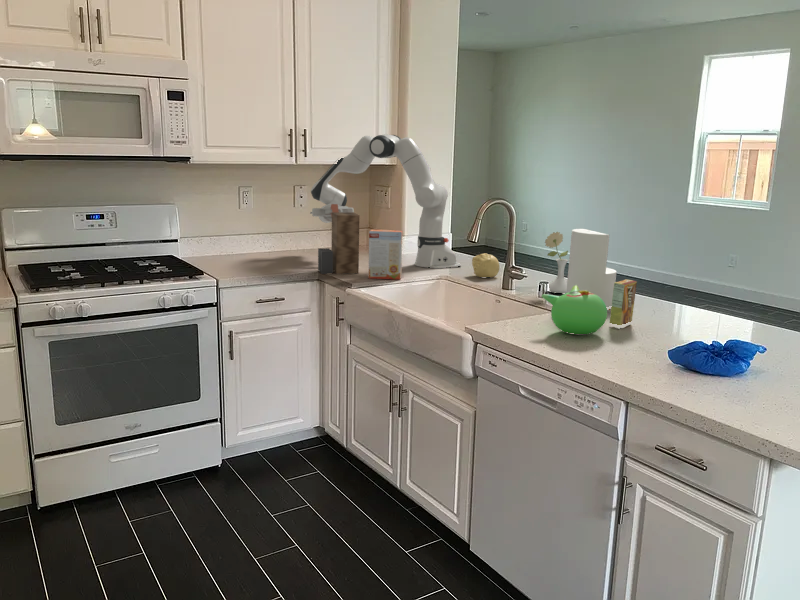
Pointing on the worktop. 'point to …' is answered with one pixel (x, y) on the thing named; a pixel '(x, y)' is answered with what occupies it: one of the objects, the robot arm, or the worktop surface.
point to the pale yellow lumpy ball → (485, 265)
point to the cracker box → (385, 254)
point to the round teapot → (577, 311)
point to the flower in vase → (559, 283)
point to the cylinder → (591, 264)
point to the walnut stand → (345, 242)
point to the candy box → (623, 302)
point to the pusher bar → (334, 208)
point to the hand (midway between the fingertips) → (335, 211)
